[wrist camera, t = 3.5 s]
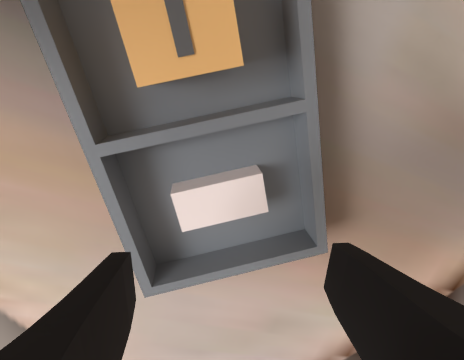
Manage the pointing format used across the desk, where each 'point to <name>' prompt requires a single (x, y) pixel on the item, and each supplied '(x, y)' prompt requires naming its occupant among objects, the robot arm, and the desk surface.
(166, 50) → the letter cube
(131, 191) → the organizer
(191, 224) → the eraser
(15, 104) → the desk surface
